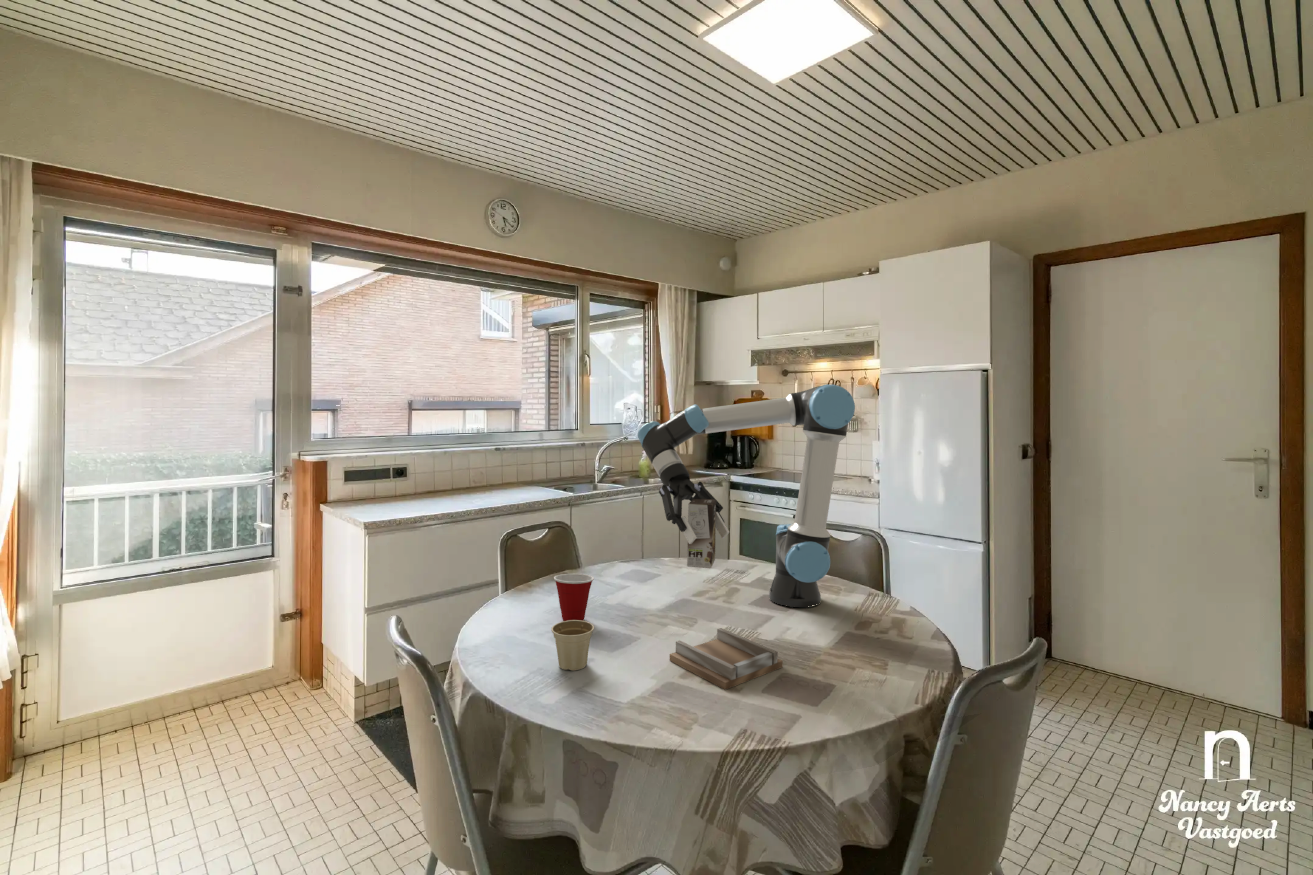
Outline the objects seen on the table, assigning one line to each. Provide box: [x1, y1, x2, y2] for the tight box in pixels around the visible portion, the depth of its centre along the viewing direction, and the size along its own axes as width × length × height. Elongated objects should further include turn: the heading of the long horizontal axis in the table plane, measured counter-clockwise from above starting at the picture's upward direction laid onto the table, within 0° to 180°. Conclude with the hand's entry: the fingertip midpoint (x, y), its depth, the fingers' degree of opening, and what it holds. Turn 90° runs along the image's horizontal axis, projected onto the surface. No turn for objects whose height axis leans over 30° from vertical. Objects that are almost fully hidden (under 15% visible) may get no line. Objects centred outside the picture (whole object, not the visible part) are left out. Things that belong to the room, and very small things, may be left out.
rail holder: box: [669, 627, 784, 690], centre depth 138 cm, size 18×18×4 cm
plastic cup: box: [553, 573, 595, 622], centre depth 165 cm, size 11×11×12 cm
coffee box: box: [686, 499, 717, 569], centre depth 156 cm, size 9×6×16 cm
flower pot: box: [551, 620, 595, 671], centre depth 136 cm, size 9×9×9 cm
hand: (709, 538), depth 154 cm, fingers closed on coffee box, 11 cm apart
